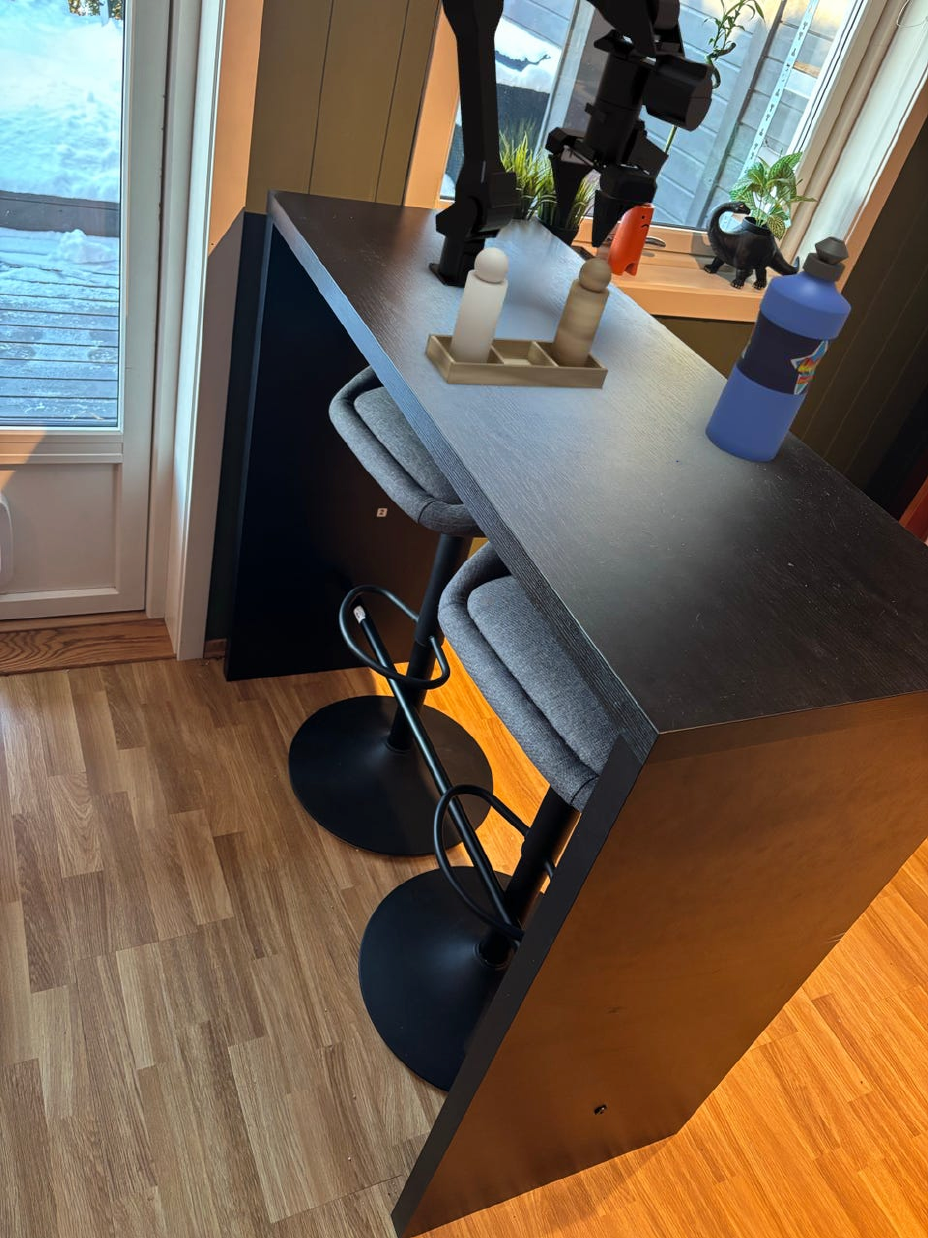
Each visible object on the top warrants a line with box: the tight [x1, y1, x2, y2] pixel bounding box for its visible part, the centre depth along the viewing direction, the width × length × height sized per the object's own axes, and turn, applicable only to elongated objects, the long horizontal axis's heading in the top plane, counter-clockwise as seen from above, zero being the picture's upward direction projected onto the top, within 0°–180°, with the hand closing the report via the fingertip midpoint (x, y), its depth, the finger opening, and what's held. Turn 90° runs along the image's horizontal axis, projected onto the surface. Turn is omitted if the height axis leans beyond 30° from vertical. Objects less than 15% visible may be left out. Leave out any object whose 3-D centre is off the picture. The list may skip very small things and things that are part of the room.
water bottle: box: [705, 236, 852, 463], centre depth 110 cm, size 9×9×25 cm
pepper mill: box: [549, 257, 613, 367], centre depth 114 cm, size 5×5×14 cm
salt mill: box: [449, 246, 510, 363], centre depth 108 cm, size 5×5×14 cm
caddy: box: [424, 333, 609, 389], centre depth 115 cm, size 7×21×3 cm, turn 113°
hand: (578, 233), depth 124 cm, fingers open, 9 cm apart
